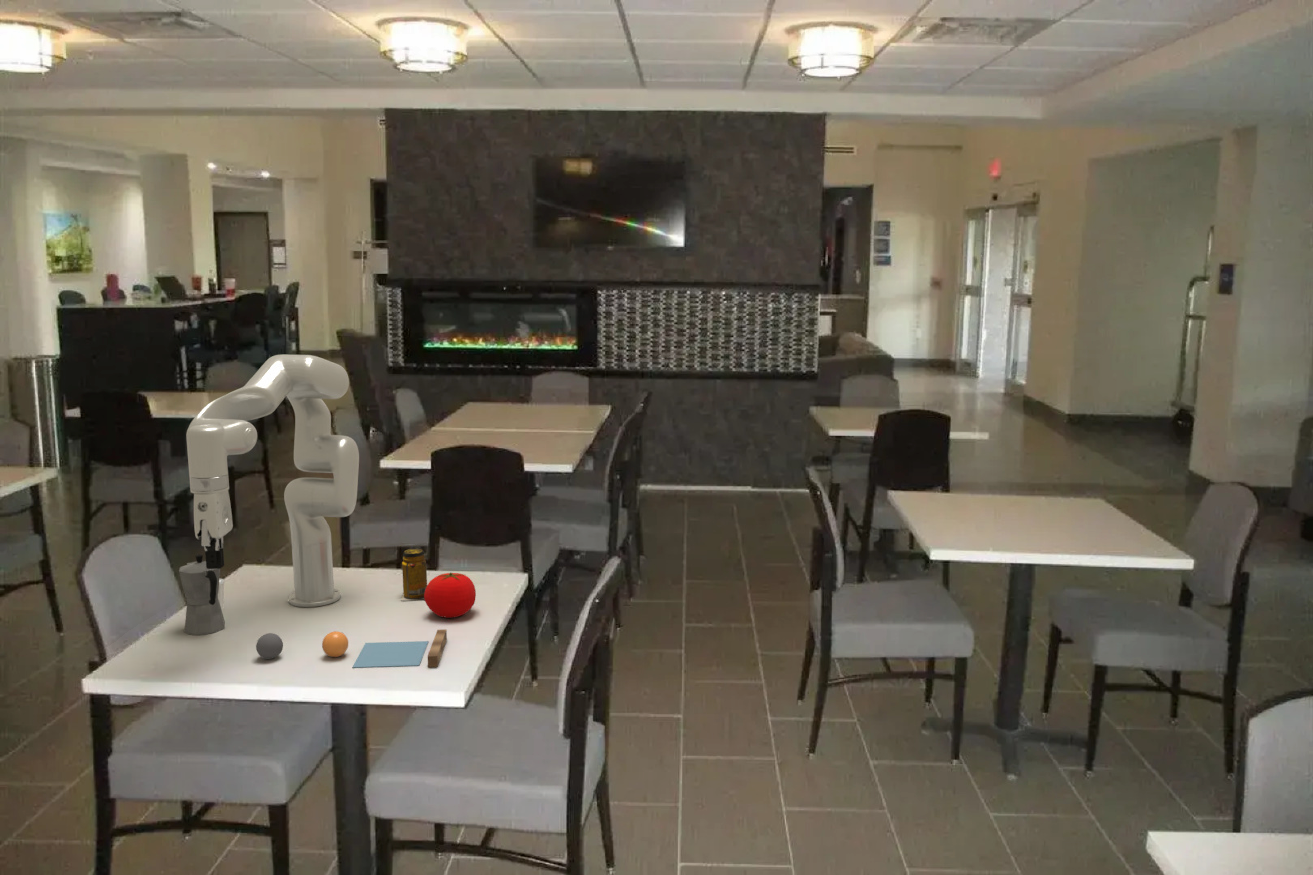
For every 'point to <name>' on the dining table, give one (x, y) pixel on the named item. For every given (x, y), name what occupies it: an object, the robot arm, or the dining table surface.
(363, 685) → the dining table surface
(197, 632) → the coffeepot
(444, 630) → the stopper wall
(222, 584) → the shot glass
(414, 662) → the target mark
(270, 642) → the gray sphere
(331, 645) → the object ball
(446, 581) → the tomato
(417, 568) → the condiment
